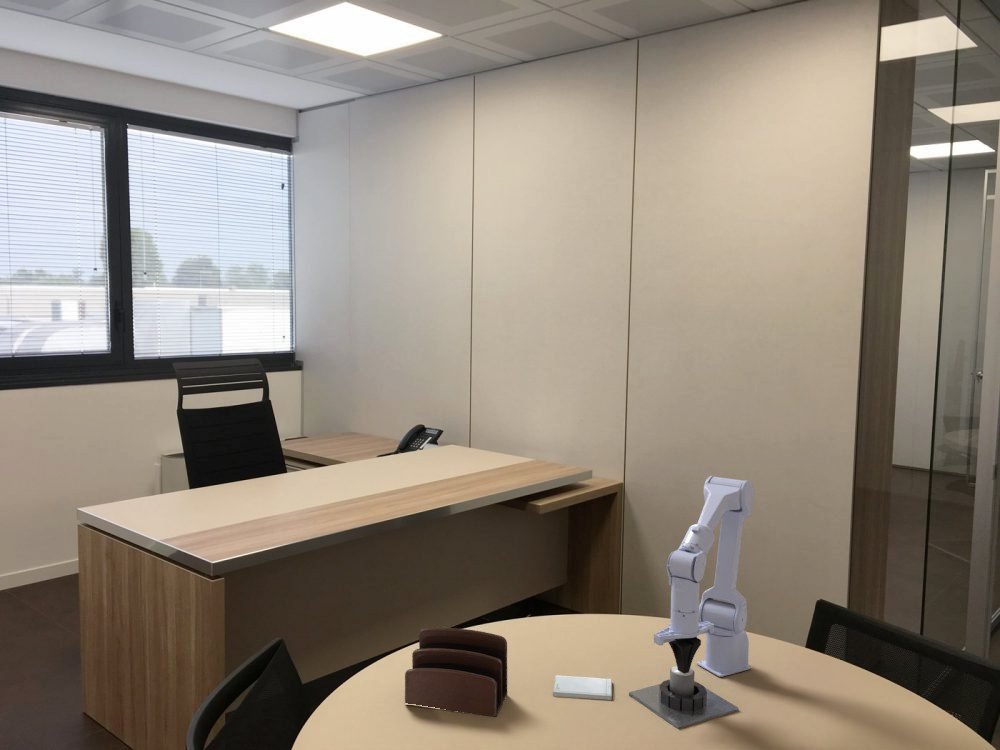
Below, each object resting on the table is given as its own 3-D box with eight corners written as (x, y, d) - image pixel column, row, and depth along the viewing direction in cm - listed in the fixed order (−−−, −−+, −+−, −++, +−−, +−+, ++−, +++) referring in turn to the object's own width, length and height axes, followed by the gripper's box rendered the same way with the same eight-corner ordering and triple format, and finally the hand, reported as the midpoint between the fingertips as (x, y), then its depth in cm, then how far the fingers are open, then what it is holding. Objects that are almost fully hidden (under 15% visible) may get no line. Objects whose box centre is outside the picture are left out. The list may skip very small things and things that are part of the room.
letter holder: (420, 685, 182) (420, 623, 181) (508, 695, 177) (508, 632, 176) (404, 706, 172) (403, 641, 171) (496, 718, 168) (496, 651, 166)
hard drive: (552, 691, 177) (611, 694, 175) (555, 674, 185) (611, 677, 183) (552, 698, 177) (611, 702, 175) (555, 681, 185) (611, 684, 183)
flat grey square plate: (686, 679, 185) (687, 666, 185) (738, 710, 171) (739, 696, 171) (628, 695, 177) (629, 681, 177) (677, 728, 163) (678, 714, 163)
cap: (683, 691, 178) (684, 663, 177) (698, 701, 173) (699, 672, 173) (664, 696, 176) (665, 667, 175) (679, 706, 171) (680, 677, 171)
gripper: (698, 596, 179) (697, 657, 180) (645, 607, 172) (643, 670, 174) (721, 607, 173) (719, 669, 174) (666, 619, 166) (665, 684, 167)
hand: (683, 671), depth 173 cm, fingers closed, pressing on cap
